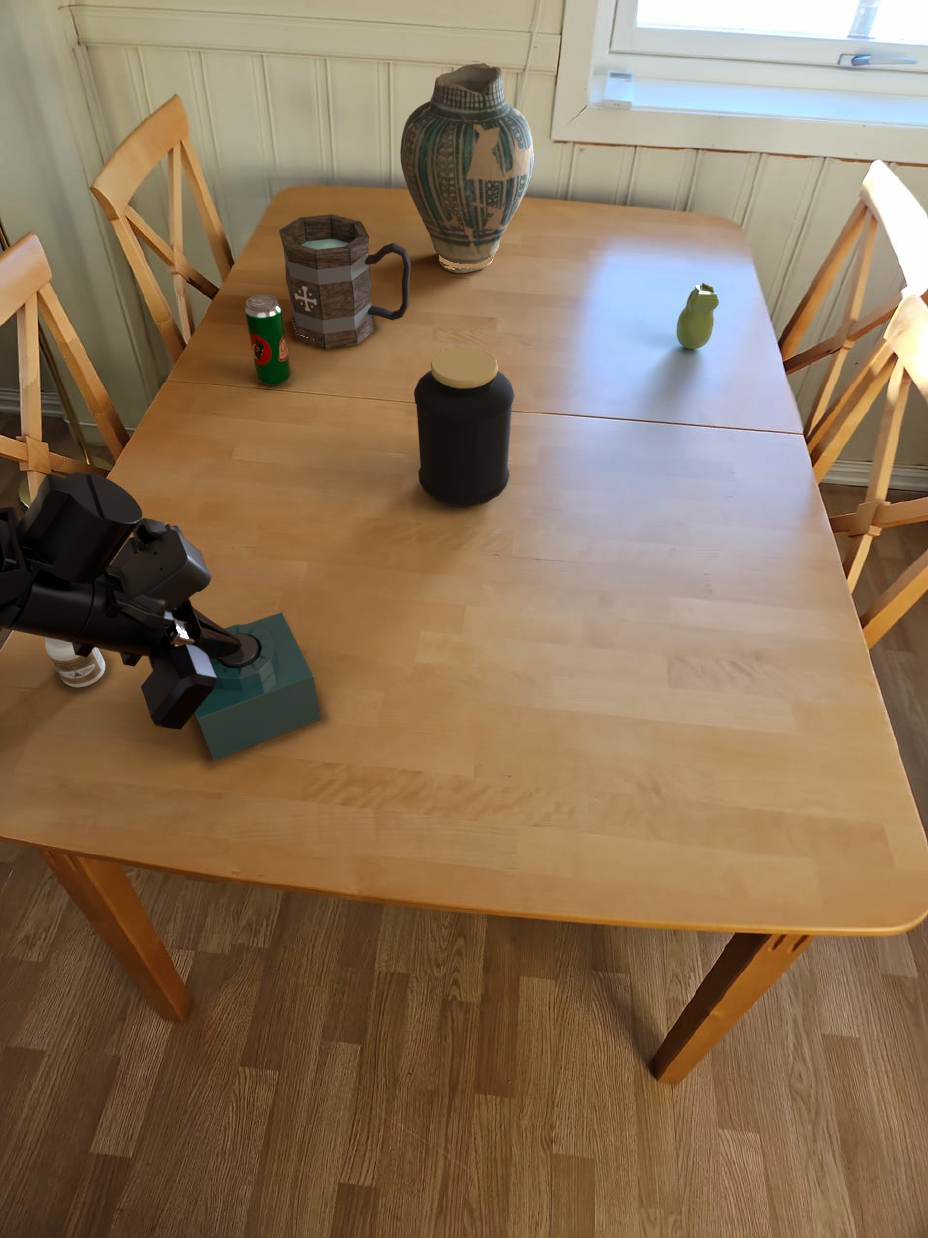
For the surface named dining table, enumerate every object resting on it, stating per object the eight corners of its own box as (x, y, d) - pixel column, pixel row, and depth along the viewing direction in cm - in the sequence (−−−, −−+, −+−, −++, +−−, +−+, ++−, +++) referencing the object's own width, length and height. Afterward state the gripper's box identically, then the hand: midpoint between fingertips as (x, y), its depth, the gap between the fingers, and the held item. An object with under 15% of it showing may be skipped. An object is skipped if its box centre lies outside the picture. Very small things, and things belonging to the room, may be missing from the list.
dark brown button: (228, 682, 76) (224, 669, 75) (217, 655, 78) (213, 641, 77) (266, 669, 77) (262, 655, 76) (254, 642, 79) (250, 628, 78)
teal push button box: (213, 761, 79) (193, 707, 72) (188, 693, 84) (167, 637, 77) (321, 719, 82) (311, 664, 76) (291, 656, 88) (279, 599, 81)
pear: (701, 337, 134) (717, 277, 126) (712, 354, 130) (729, 294, 123) (668, 338, 133) (682, 278, 126) (678, 355, 130) (693, 295, 122)
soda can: (292, 386, 121) (280, 309, 112) (257, 388, 121) (242, 311, 112) (291, 367, 125) (280, 291, 116) (257, 369, 124) (243, 293, 115)
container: (407, 463, 110) (403, 340, 96) (493, 451, 112) (501, 330, 99) (427, 523, 102) (425, 398, 89) (519, 509, 104) (531, 385, 91)
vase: (541, 248, 154) (560, 60, 131) (499, 301, 140) (512, 102, 117) (432, 225, 159) (432, 41, 136) (382, 274, 145) (372, 78, 123)
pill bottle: (63, 693, 84) (36, 645, 78) (60, 662, 86) (33, 613, 80) (108, 681, 85) (84, 633, 79) (104, 650, 87) (80, 601, 82)
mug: (282, 346, 128) (267, 250, 117) (300, 303, 137) (288, 211, 126) (406, 354, 128) (404, 259, 117) (417, 311, 137) (415, 219, 126)
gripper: (157, 613, 56) (325, 657, 68) (102, 460, 67) (255, 521, 79) (77, 720, 60) (250, 744, 72) (37, 559, 71) (193, 603, 82)
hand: (238, 646), depth 76 cm, fingers closed, pressing on dark brown button
